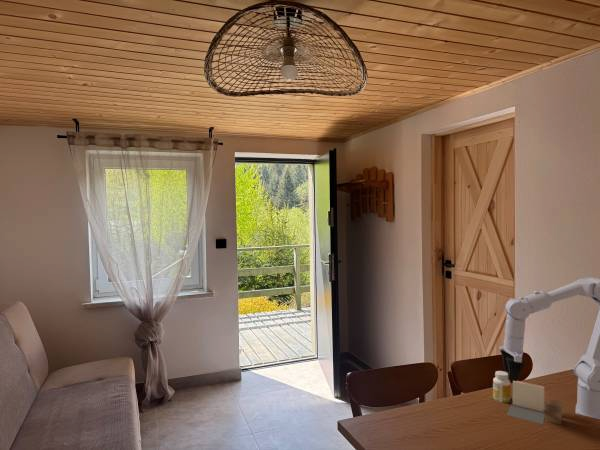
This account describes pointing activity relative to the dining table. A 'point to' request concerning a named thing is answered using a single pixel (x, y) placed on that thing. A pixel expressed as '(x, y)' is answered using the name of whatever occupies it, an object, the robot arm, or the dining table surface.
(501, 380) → the supplement bottle
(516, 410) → the mat
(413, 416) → the dining table surface
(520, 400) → the tile
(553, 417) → the block
